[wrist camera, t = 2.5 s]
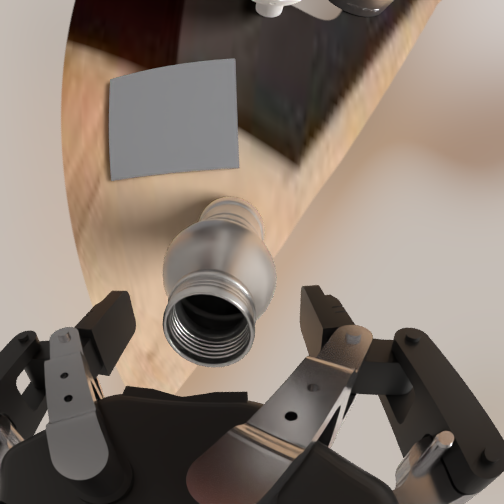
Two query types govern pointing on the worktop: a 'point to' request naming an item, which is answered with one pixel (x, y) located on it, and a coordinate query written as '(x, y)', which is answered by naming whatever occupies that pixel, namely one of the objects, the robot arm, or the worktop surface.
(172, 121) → the board
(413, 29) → the worktop surface
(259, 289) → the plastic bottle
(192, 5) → the worktop surface
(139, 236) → the worktop surface
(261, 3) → the white cylindrical piece
